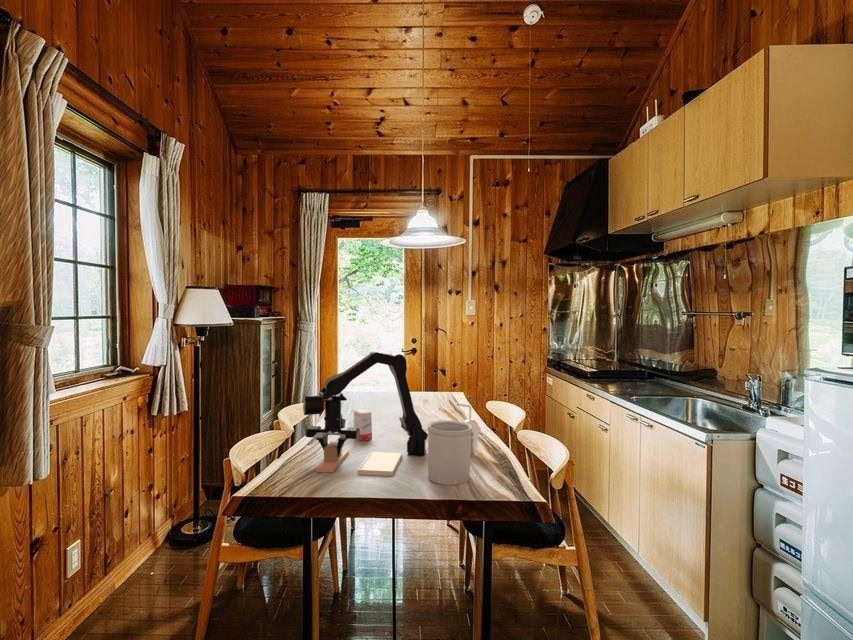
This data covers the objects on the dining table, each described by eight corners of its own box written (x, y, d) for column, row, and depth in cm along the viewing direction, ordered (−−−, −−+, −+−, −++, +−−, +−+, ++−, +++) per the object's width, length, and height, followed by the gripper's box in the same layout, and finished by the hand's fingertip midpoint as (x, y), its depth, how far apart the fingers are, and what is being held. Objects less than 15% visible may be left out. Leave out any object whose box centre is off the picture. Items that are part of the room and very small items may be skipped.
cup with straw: (478, 459, 174) (479, 406, 173) (454, 457, 177) (455, 404, 176) (482, 452, 182) (483, 401, 182) (459, 450, 185) (460, 400, 184)
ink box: (372, 439, 199) (372, 412, 199) (361, 441, 196) (361, 413, 196) (363, 435, 206) (363, 408, 206) (352, 436, 203) (353, 409, 203)
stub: (348, 454, 178) (348, 437, 178) (332, 472, 158) (332, 453, 158) (333, 453, 179) (333, 436, 179) (315, 471, 159) (315, 452, 159)
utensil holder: (474, 472, 161) (474, 421, 160) (468, 488, 146) (469, 432, 146) (432, 468, 164) (433, 418, 164) (422, 483, 150) (423, 429, 149)
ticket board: (402, 457, 176) (402, 452, 176) (392, 475, 156) (392, 471, 156) (370, 455, 177) (370, 451, 177) (357, 474, 157) (357, 469, 157)
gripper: (363, 409, 175) (363, 450, 176) (315, 407, 177) (315, 448, 178) (356, 415, 164) (355, 459, 165) (304, 414, 166) (304, 457, 167)
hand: (332, 455), depth 169 cm, fingers closed on stub, 4 cm apart
